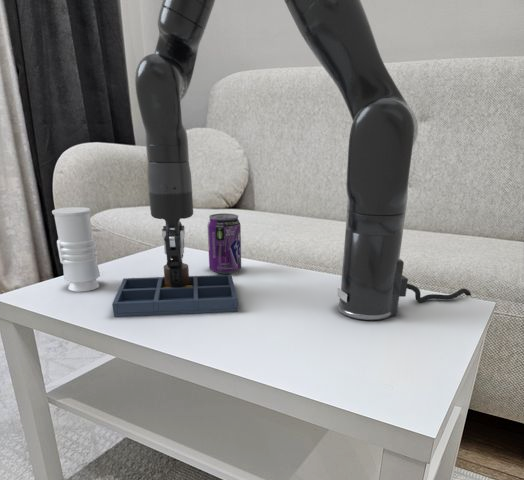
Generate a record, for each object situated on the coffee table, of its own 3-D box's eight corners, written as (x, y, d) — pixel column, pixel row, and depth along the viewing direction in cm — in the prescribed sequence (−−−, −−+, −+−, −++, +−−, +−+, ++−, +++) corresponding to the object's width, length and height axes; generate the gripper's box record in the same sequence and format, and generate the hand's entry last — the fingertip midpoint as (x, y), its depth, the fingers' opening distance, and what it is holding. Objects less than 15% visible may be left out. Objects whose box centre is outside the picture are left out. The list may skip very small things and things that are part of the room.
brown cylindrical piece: (189, 279, 93) (188, 262, 92) (189, 287, 89) (188, 269, 87) (165, 280, 92) (164, 263, 91) (164, 288, 88) (162, 269, 87)
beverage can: (226, 277, 102) (225, 220, 96) (202, 271, 105) (200, 216, 100) (247, 270, 107) (247, 215, 101) (224, 264, 110) (222, 211, 105)
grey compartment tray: (231, 286, 96) (231, 274, 95) (237, 311, 83) (237, 298, 82) (124, 290, 94) (123, 278, 93) (113, 316, 81) (112, 303, 80)
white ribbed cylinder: (61, 285, 96) (46, 209, 89) (95, 279, 100) (83, 206, 93) (71, 294, 91) (57, 214, 84) (106, 288, 95) (95, 210, 88)
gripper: (191, 194, 77) (197, 294, 85) (192, 183, 90) (196, 271, 97) (144, 194, 76) (154, 295, 84) (151, 184, 89) (159, 272, 97)
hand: (177, 282), depth 91 cm, fingers closed on brown cylindrical piece, 4 cm apart
